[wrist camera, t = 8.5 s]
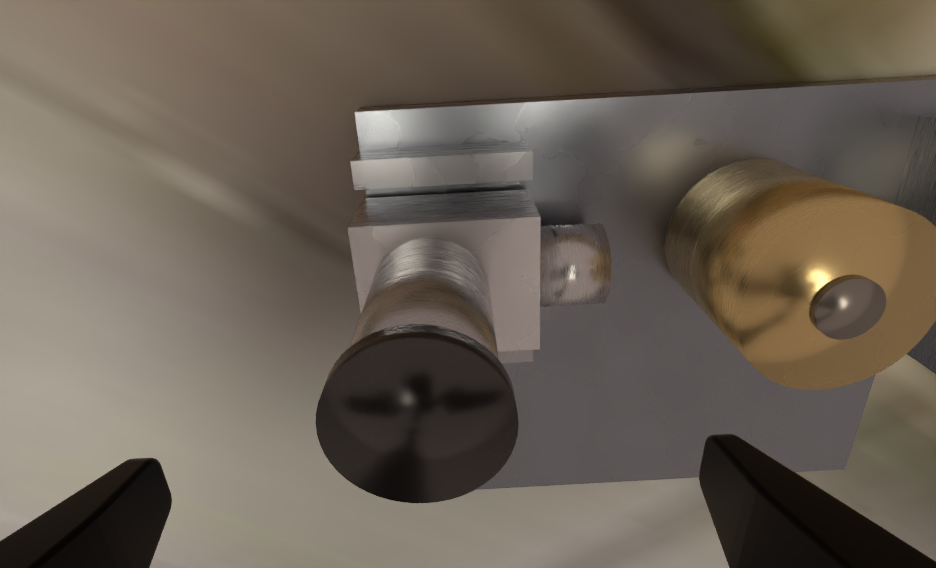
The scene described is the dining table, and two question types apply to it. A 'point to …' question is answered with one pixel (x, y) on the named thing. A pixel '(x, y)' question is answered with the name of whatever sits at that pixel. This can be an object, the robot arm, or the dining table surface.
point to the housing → (804, 272)
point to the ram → (446, 336)
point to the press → (656, 257)
